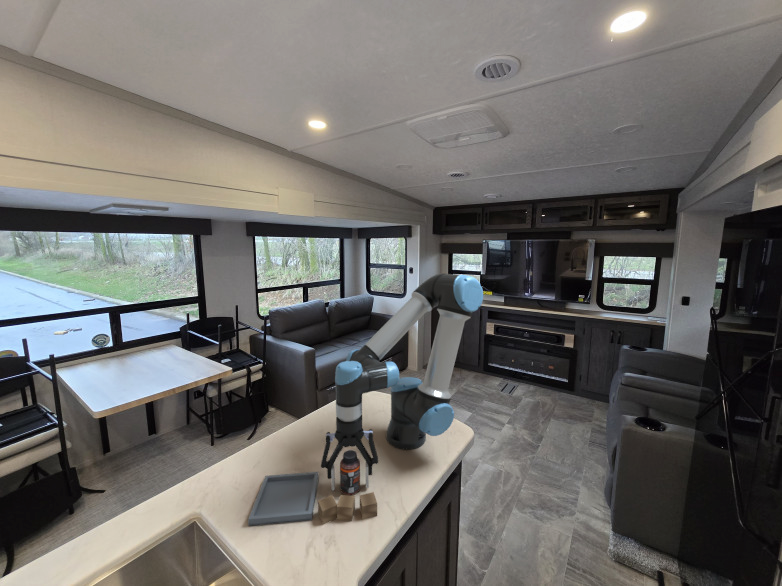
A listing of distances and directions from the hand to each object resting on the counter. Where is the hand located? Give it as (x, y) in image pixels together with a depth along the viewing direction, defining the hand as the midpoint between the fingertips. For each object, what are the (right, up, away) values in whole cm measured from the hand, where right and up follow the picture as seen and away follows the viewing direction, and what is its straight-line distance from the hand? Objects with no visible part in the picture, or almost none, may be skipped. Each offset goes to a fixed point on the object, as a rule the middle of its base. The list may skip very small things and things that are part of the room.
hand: (350, 485), depth 93 cm
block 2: (0, -2, -9) cm, 9 cm away
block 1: (-5, -2, -9) cm, 11 cm away
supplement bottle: (0, -1, 0) cm, 1 cm away
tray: (-18, -1, -4) cm, 18 cm away
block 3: (+6, -2, -8) cm, 10 cm away
